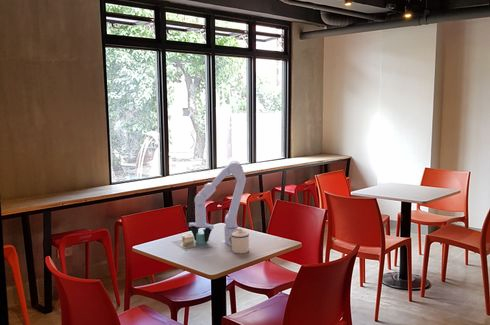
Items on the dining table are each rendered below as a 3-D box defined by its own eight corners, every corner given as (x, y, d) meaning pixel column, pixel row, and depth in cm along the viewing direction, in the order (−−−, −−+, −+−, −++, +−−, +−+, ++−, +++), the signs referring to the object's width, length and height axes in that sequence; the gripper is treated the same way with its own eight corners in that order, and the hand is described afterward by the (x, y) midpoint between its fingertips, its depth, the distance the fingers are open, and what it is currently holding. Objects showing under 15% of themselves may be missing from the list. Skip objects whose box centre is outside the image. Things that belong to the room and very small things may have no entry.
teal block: (207, 242, 248) (206, 233, 247) (199, 244, 245) (199, 235, 245) (203, 240, 252) (203, 231, 251) (196, 242, 249) (195, 233, 249)
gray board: (217, 246, 244) (217, 244, 243) (186, 252, 234) (186, 250, 234) (201, 237, 261) (201, 236, 260) (171, 242, 251) (171, 241, 251)
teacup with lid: (253, 250, 235) (252, 228, 233) (241, 255, 228) (241, 232, 226) (235, 246, 242) (234, 224, 241) (223, 250, 235) (222, 228, 234)
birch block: (193, 245, 244) (193, 236, 243) (185, 246, 241) (185, 237, 241) (190, 243, 247) (189, 234, 247) (182, 244, 245) (182, 235, 245)
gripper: (216, 215, 247) (216, 240, 248) (193, 213, 254) (194, 237, 255) (208, 218, 241) (209, 243, 242) (186, 216, 248) (187, 240, 249)
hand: (201, 240), depth 248 cm, fingers closed on teal block, 6 cm apart
